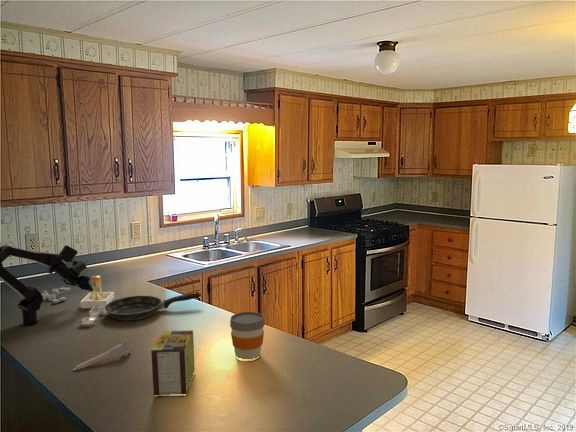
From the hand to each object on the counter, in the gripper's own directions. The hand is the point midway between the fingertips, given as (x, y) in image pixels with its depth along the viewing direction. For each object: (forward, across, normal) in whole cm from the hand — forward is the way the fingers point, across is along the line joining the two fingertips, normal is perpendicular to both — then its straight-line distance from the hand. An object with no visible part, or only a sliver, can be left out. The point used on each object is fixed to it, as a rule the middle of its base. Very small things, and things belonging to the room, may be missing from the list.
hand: (87, 288), depth 226 cm
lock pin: (+9, 0, +2) cm, 9 cm away
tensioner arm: (+1, -18, +11) cm, 21 cm away
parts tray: (+10, 0, +3) cm, 10 cm away
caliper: (-13, -62, +26) cm, 69 cm away
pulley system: (+4, +29, +10) cm, 31 cm away
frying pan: (+16, -31, -3) cm, 35 cm away
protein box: (-9, -96, +22) cm, 99 cm away
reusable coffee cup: (+12, -100, +1) cm, 101 cm away
